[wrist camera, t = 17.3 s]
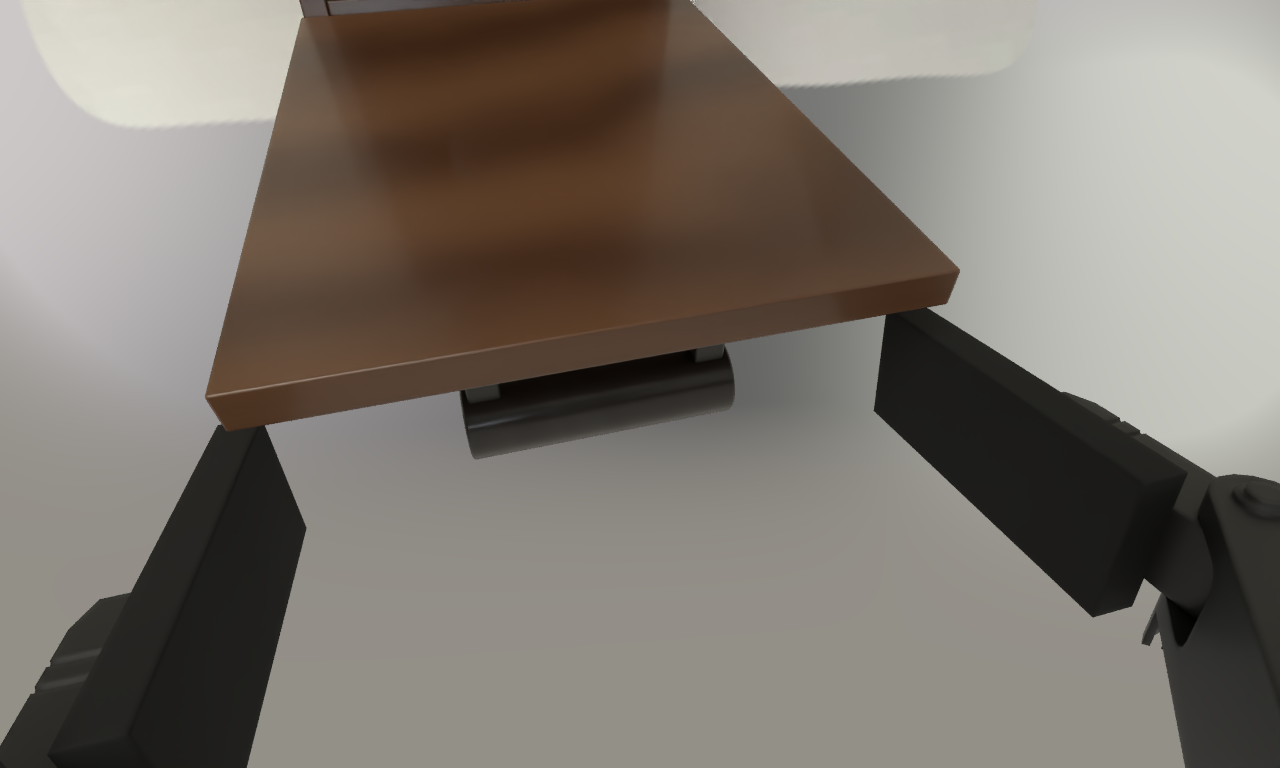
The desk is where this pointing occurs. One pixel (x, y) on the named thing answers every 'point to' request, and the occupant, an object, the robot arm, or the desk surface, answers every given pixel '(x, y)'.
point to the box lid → (543, 223)
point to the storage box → (379, 5)
